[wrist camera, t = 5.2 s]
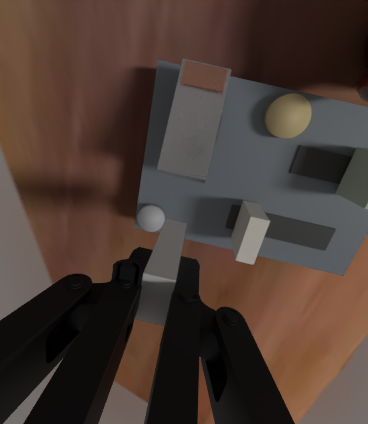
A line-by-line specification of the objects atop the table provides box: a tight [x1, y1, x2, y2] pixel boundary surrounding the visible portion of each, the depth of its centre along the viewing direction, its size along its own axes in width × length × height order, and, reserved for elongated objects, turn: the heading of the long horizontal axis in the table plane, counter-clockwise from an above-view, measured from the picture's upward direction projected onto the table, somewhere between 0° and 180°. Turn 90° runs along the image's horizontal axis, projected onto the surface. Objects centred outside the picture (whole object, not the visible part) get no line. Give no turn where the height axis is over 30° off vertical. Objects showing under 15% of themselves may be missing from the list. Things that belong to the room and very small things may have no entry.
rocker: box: [157, 59, 232, 183], centre depth 17 cm, size 8×4×2 cm, turn 168°
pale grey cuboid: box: [231, 201, 270, 265], centre depth 20 cm, size 4×2×4 cm, turn 168°
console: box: [134, 60, 368, 276], centre depth 21 cm, size 15×22×4 cm
